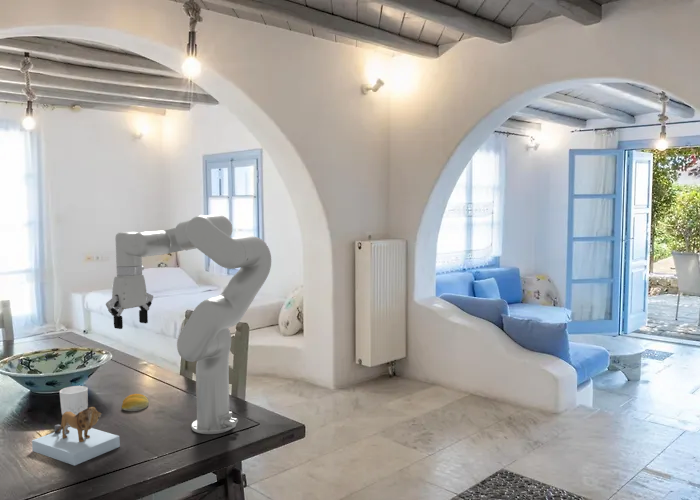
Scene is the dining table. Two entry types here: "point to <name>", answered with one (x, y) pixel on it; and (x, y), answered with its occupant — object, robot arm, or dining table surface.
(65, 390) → the white cup
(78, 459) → the plinth
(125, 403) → the bread roll
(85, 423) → the lion figurine
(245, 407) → the dining table surface
